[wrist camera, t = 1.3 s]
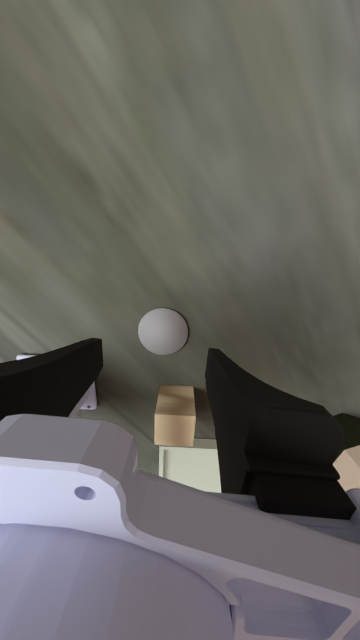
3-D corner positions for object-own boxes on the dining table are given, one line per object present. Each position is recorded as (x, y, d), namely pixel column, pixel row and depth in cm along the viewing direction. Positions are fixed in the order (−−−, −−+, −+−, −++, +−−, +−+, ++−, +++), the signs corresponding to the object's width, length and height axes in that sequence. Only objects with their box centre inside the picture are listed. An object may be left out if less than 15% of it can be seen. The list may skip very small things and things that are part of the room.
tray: (159, 489, 30) (158, 500, 29) (160, 436, 27) (159, 446, 25) (229, 492, 30) (231, 504, 29) (240, 440, 27) (243, 450, 25)
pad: (139, 352, 23) (138, 353, 22) (138, 306, 21) (137, 307, 21) (186, 355, 23) (186, 356, 22) (189, 309, 21) (189, 309, 21)
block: (159, 410, 26) (154, 444, 21) (160, 384, 24) (154, 414, 19) (190, 412, 26) (192, 446, 21) (193, 386, 24) (195, 416, 19)
